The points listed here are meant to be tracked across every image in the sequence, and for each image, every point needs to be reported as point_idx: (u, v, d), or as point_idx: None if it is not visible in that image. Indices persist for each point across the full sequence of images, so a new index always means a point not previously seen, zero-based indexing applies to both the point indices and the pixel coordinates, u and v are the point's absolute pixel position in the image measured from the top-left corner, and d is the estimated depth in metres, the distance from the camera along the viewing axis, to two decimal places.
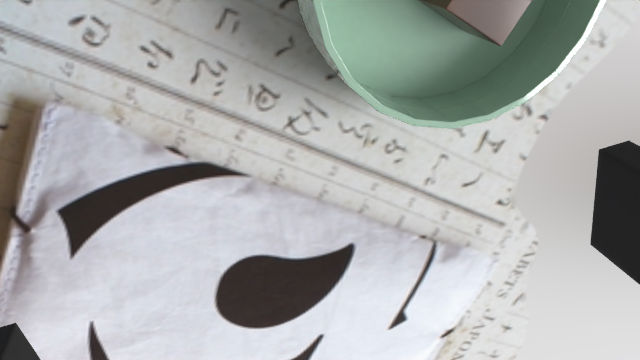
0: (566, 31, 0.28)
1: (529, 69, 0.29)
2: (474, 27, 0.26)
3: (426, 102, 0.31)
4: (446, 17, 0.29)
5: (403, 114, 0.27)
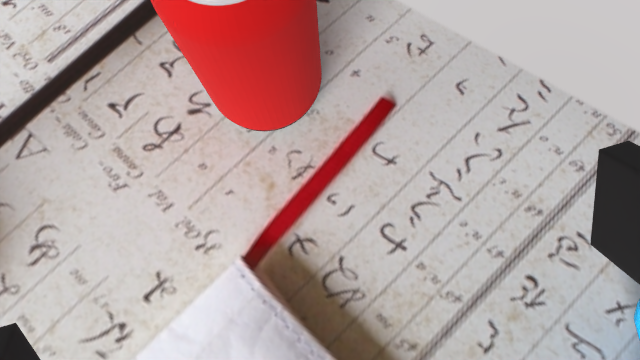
0: None
1: None
2: None
3: None
4: None
5: None
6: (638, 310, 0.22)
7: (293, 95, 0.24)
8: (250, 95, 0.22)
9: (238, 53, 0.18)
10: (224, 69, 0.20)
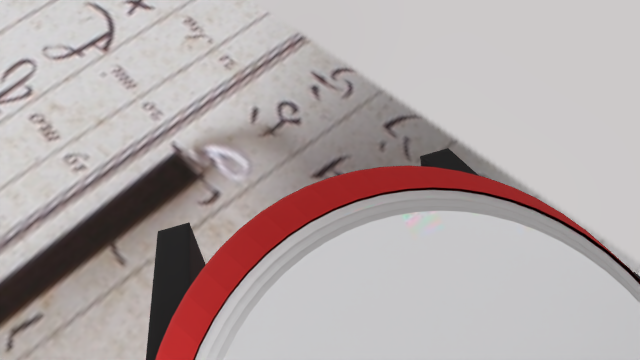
0: None
1: None
2: None
3: None
4: None
5: None
6: None
7: None
8: None
9: None
10: None
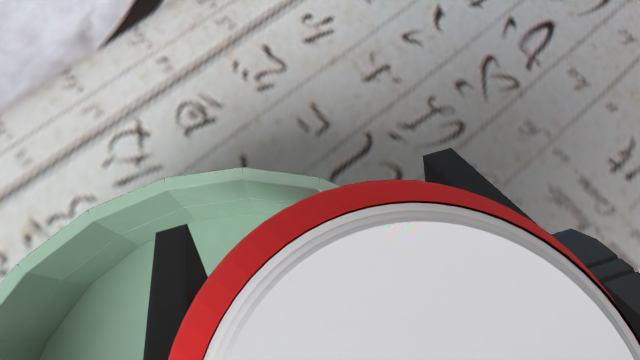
0: None
1: None
2: None
3: (36, 340, 0.16)
4: None
5: (51, 252, 0.14)
6: None
7: None
8: None
9: None
10: None
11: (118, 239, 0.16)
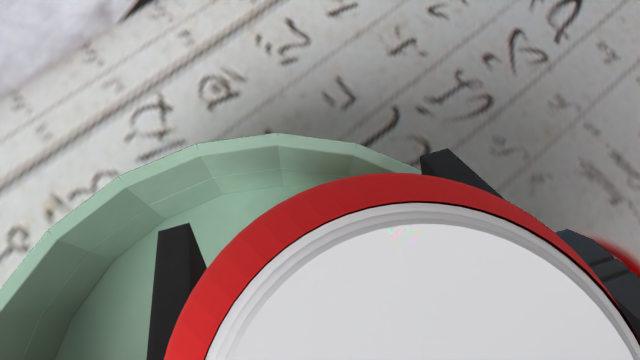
0: None
1: None
2: None
3: (62, 314, 0.16)
4: None
5: (82, 219, 0.14)
6: None
7: None
8: None
9: None
10: None
11: (146, 210, 0.16)
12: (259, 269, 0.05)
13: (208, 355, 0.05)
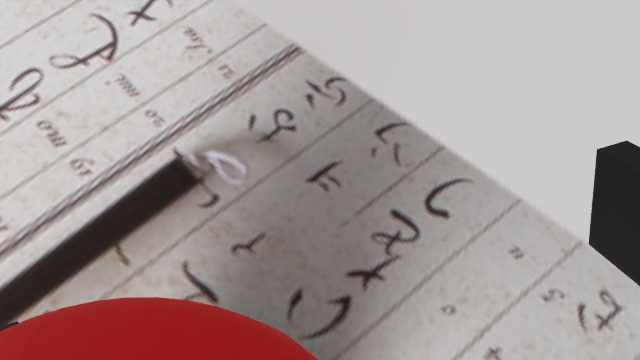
0: None
1: None
2: None
3: None
4: None
5: None
6: None
7: None
8: None
9: None
10: None
11: None
12: None
13: None
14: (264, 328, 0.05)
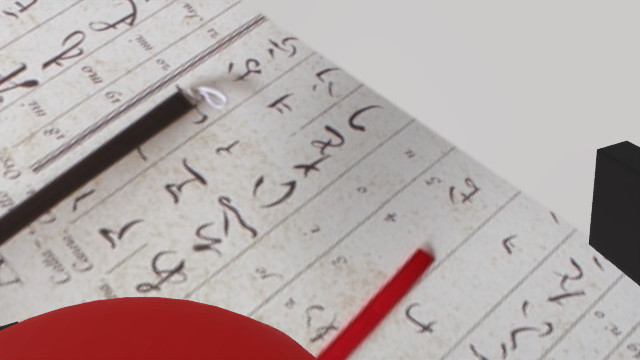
0: None
1: None
2: None
3: None
4: None
5: None
6: None
7: None
8: None
9: None
10: None
11: None
12: None
13: None
14: (263, 328, 0.05)
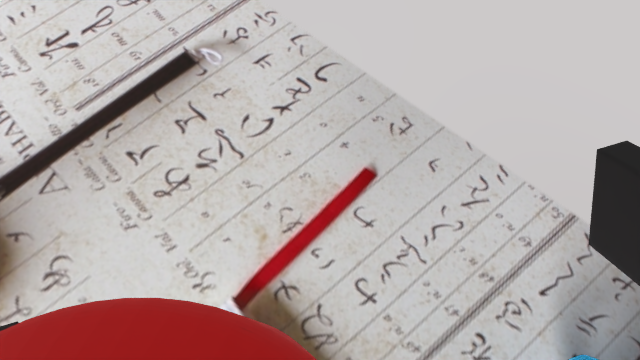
0: None
1: None
2: None
3: None
4: None
5: None
6: None
7: None
8: None
9: None
10: None
11: None
12: None
13: None
14: (263, 329, 0.05)
